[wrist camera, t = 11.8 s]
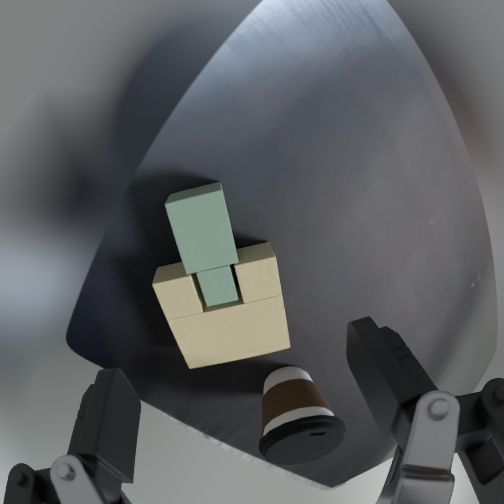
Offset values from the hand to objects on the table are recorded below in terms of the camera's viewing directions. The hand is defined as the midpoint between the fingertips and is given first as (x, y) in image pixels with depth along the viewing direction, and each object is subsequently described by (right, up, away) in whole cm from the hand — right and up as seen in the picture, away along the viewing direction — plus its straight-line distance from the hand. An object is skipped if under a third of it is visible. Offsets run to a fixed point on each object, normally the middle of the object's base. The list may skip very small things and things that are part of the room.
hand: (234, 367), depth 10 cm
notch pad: (-2, -2, +24) cm, 24 cm away
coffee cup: (+5, -15, +31) cm, 35 cm away
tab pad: (-4, +5, +20) cm, 21 cm away
